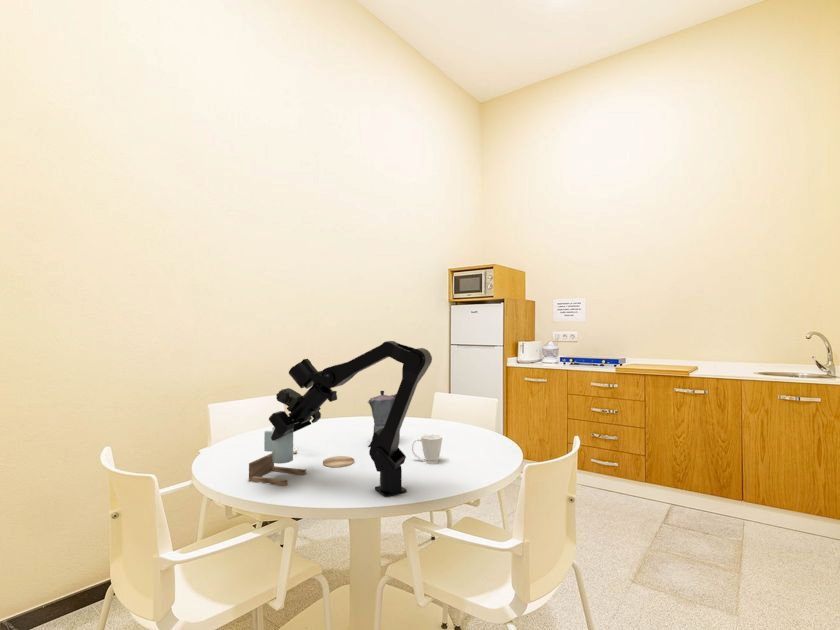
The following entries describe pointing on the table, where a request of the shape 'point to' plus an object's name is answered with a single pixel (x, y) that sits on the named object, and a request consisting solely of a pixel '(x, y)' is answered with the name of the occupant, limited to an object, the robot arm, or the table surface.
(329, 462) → the coaster
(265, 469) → the dock
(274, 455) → the jug
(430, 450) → the cup
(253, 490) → the table surface
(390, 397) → the moka pot
